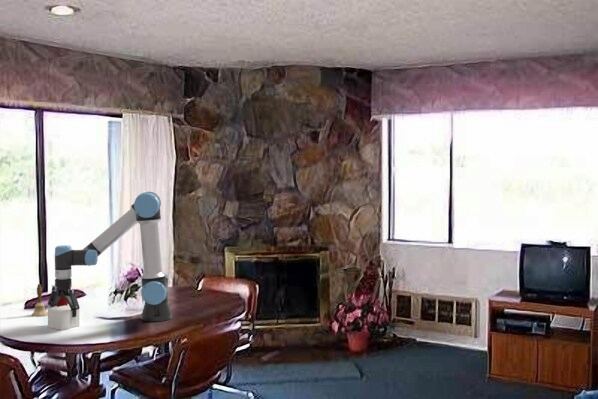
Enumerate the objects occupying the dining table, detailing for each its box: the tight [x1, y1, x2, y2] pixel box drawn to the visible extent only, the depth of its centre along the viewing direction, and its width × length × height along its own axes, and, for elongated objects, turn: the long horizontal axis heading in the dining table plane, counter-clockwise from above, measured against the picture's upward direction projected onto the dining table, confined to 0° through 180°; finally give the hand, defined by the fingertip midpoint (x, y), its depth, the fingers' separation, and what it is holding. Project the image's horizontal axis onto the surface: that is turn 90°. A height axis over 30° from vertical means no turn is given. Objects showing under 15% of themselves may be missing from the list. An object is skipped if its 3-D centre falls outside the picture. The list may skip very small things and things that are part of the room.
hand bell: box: [31, 283, 48, 318], centre depth 360 cm, size 8×8×16 cm
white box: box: [47, 305, 80, 331], centre depth 335 cm, size 10×10×9 cm
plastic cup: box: [51, 284, 73, 307], centre depth 382 cm, size 11×11×12 cm
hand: (63, 321), depth 335 cm, fingers open, 13 cm apart
